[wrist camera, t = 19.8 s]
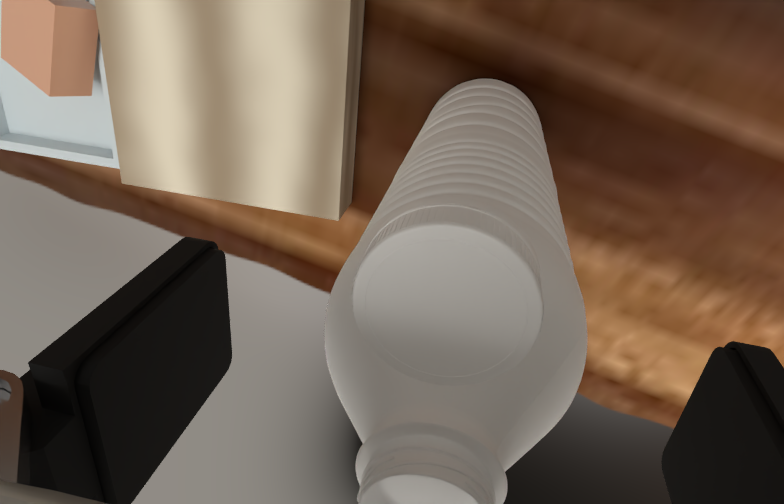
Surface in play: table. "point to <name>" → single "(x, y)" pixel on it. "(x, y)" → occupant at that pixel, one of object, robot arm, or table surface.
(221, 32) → the birch plate
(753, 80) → the table surface
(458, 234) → the water bottle
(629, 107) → the table surface
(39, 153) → the box
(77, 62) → the terracotta tile
